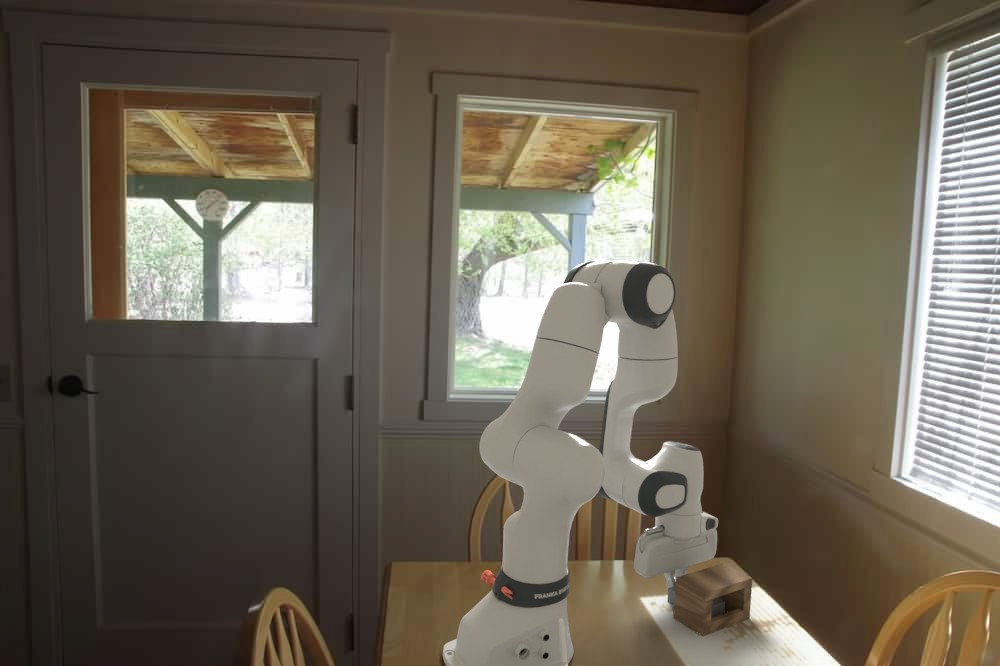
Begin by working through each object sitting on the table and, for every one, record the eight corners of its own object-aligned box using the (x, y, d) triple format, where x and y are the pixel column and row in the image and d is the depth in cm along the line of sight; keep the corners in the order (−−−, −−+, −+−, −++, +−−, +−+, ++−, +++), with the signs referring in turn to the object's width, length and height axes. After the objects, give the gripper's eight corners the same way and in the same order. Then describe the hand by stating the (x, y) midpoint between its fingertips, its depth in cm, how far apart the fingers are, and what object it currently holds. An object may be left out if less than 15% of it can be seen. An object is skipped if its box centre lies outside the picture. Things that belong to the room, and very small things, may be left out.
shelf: (702, 636, 116) (705, 593, 115) (673, 618, 122) (675, 577, 121) (749, 618, 123) (752, 577, 122) (720, 601, 129) (722, 563, 128)
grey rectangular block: (703, 623, 121) (704, 608, 121) (667, 602, 128) (668, 588, 128) (724, 615, 124) (725, 601, 124) (688, 595, 132) (689, 581, 131)
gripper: (651, 536, 121) (648, 607, 122) (724, 518, 132) (720, 582, 133) (628, 525, 126) (625, 592, 128) (699, 508, 137) (696, 570, 138)
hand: (674, 587), depth 130 cm, fingers closed
